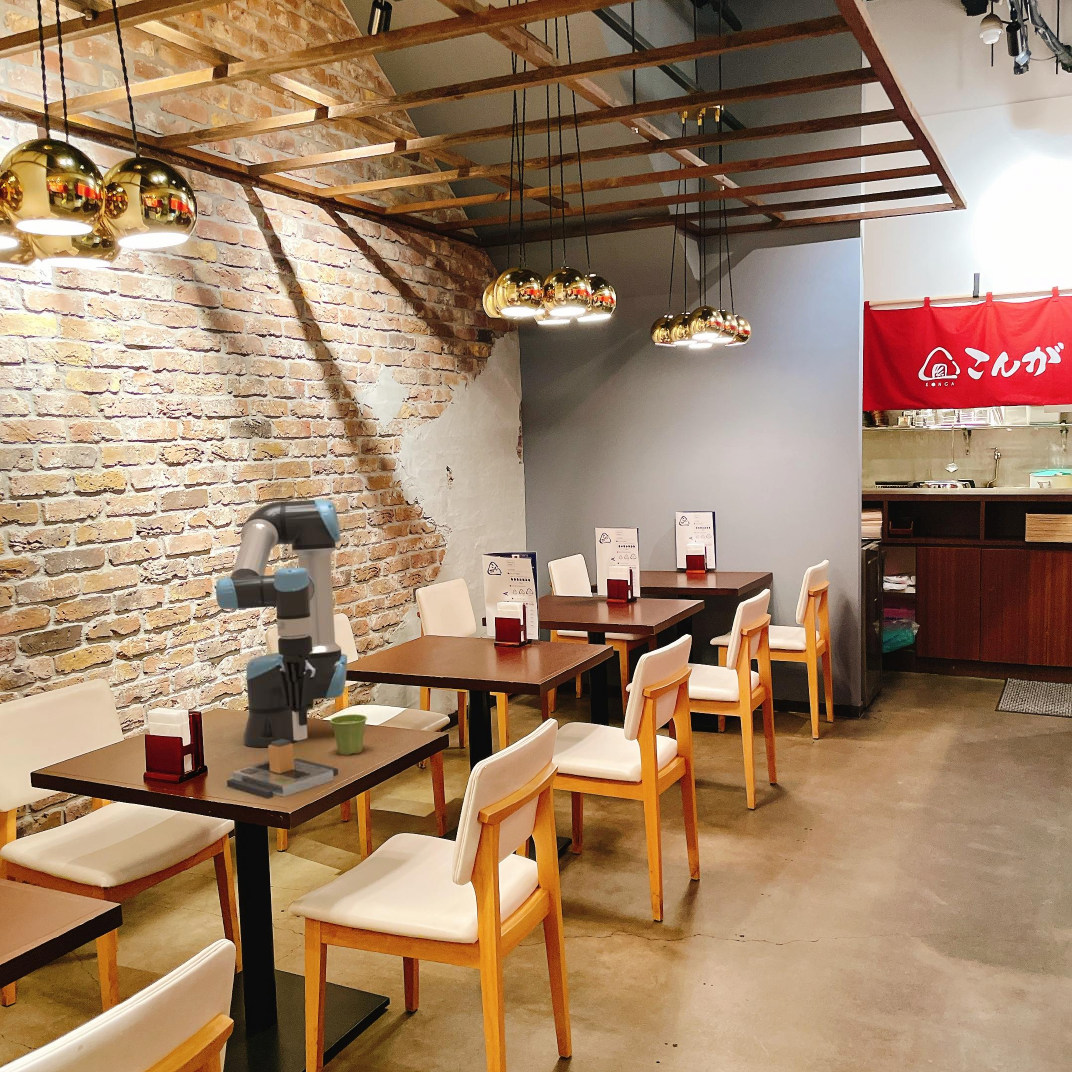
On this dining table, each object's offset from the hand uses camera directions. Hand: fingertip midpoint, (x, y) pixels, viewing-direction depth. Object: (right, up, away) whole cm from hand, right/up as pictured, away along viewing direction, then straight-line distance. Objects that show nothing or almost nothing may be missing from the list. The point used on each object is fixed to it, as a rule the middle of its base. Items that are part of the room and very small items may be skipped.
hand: (300, 738), depth 228 cm
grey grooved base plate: (-6, -11, +6) cm, 14 cm away
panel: (-6, -11, +6) cm, 14 cm away
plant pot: (+6, -10, +29) cm, 31 cm away
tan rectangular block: (-6, -9, +6) cm, 12 cm away
